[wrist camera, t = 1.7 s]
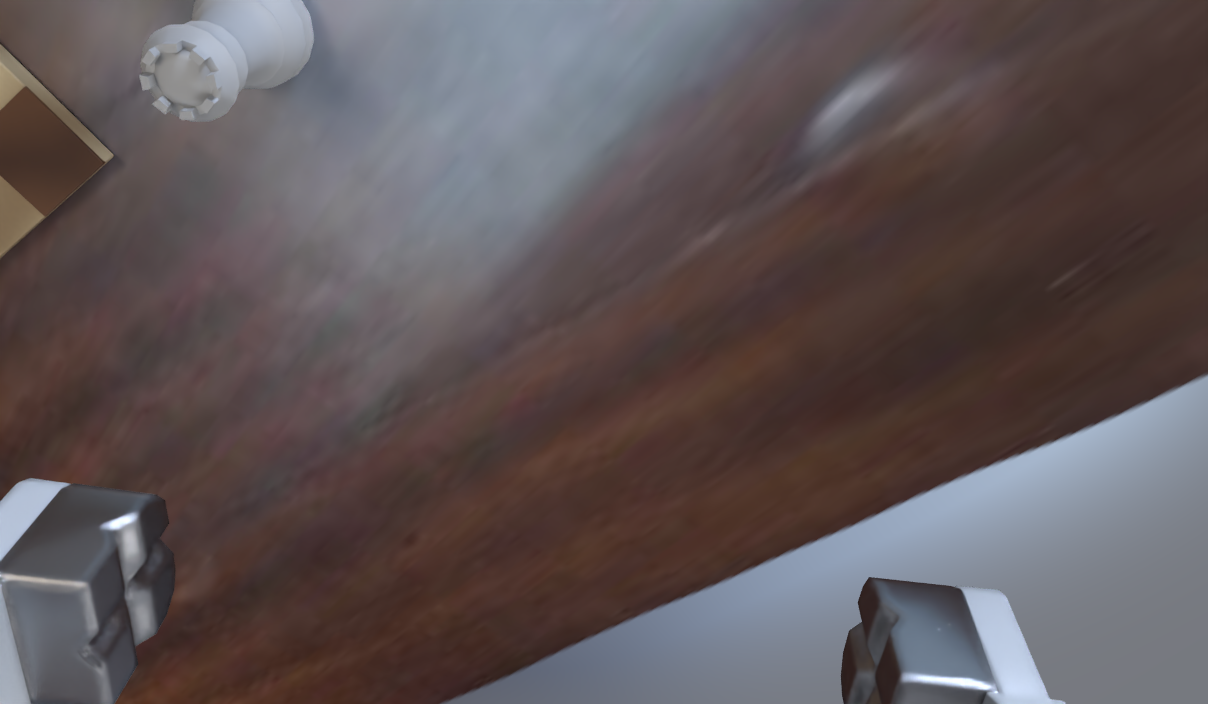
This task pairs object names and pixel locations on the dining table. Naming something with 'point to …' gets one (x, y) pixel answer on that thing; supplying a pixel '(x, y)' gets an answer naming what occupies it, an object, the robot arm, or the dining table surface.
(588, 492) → the dining table surface
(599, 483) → the dining table surface
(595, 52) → the dining table surface
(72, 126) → the chessboard
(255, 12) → the rook chess piece
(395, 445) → the dining table surface
